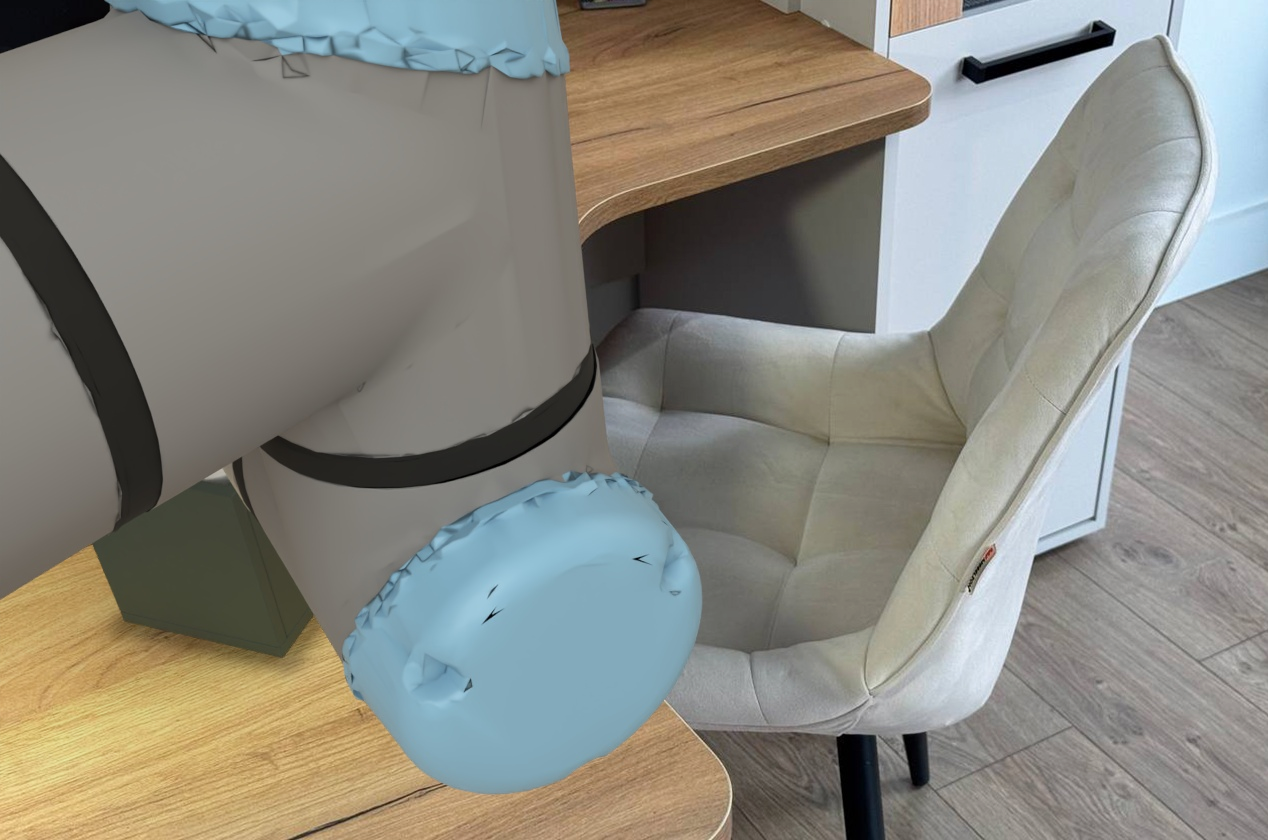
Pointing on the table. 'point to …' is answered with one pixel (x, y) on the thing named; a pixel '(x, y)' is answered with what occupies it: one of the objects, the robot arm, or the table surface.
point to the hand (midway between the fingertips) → (125, 129)
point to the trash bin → (204, 573)
